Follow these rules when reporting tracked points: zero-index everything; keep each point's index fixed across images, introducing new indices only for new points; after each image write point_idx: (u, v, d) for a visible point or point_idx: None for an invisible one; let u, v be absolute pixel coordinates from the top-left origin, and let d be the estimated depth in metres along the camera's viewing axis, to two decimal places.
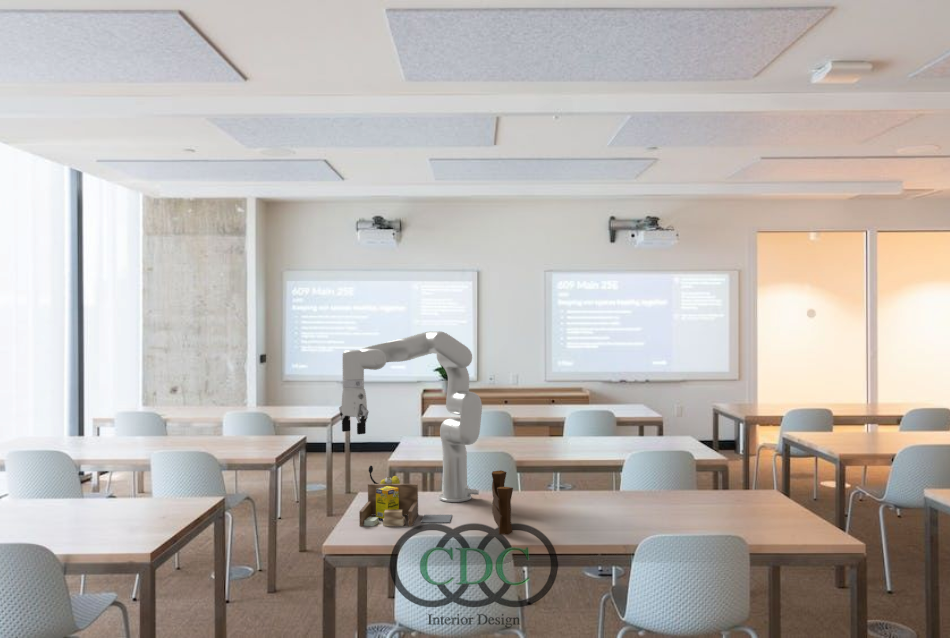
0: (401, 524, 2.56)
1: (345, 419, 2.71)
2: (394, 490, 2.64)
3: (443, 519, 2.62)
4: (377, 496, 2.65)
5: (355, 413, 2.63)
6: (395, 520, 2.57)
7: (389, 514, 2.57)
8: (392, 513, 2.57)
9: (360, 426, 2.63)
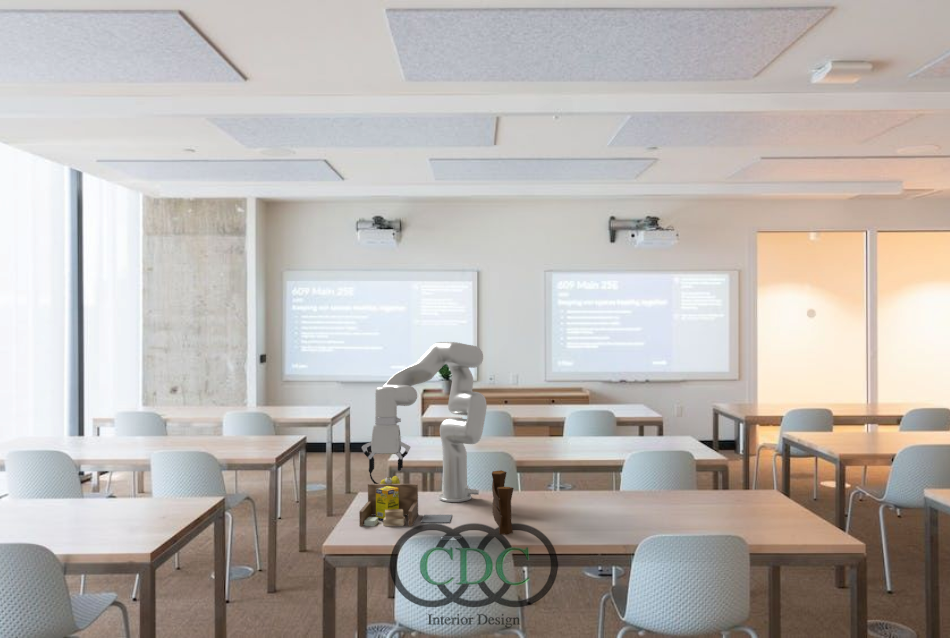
0: (401, 524, 2.56)
1: (372, 457, 2.65)
2: (394, 490, 2.64)
3: (443, 519, 2.62)
4: (377, 496, 2.65)
5: (397, 450, 2.63)
6: (395, 520, 2.57)
7: (391, 513, 2.57)
8: (393, 513, 2.57)
9: (401, 462, 2.64)
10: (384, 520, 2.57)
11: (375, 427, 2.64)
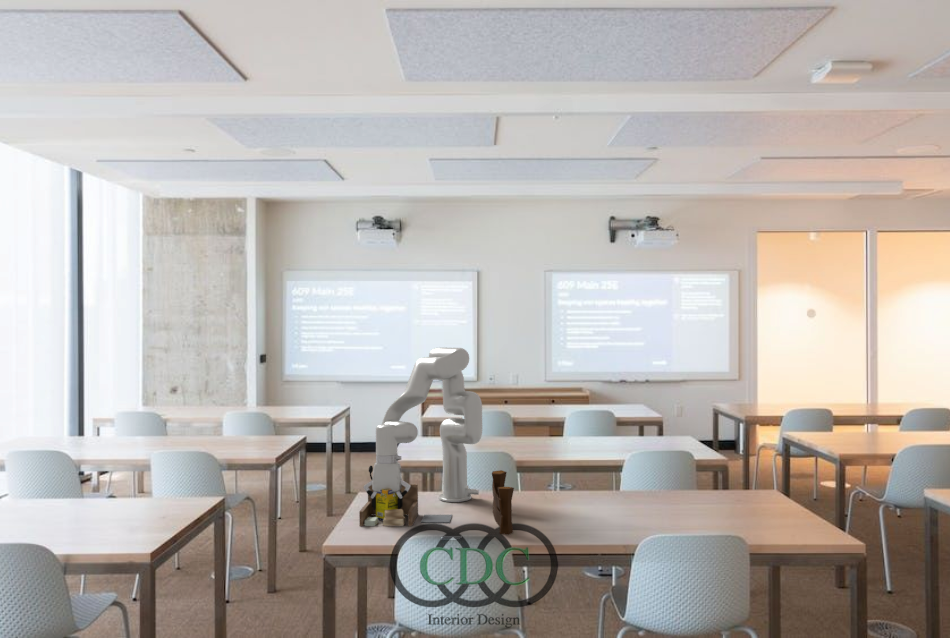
0: (401, 524, 2.57)
1: (375, 496, 2.66)
2: None
3: (443, 519, 2.62)
4: (377, 496, 2.65)
5: (398, 488, 2.63)
6: (395, 520, 2.57)
7: (391, 514, 2.57)
8: (394, 513, 2.57)
9: (401, 501, 2.65)
10: (384, 520, 2.57)
11: (376, 465, 2.64)
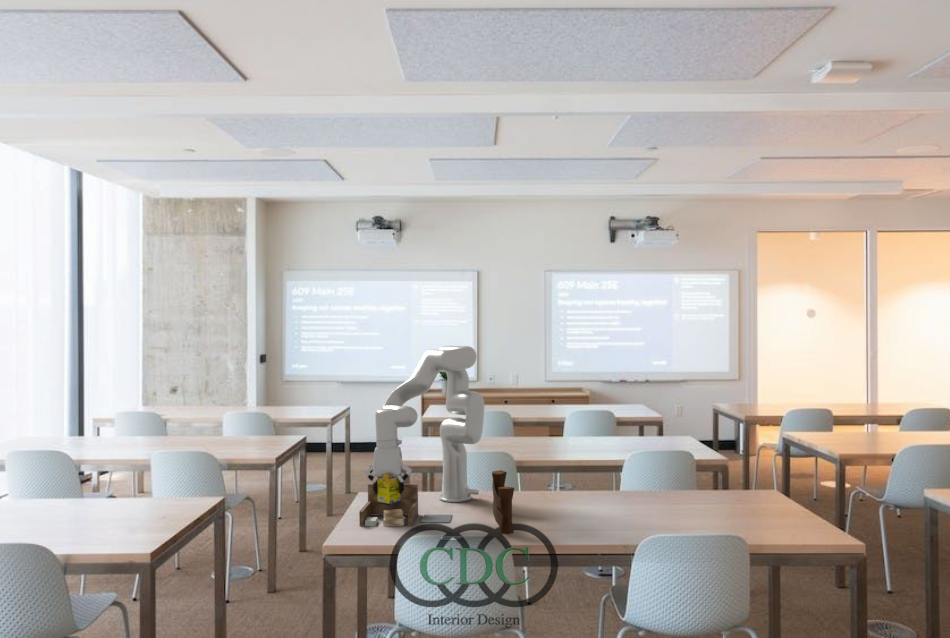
0: (401, 524, 2.57)
1: (376, 481, 2.66)
2: None
3: (443, 519, 2.62)
4: (378, 480, 2.65)
5: (399, 472, 2.64)
6: (395, 520, 2.57)
7: (391, 514, 2.57)
8: (393, 513, 2.57)
9: (402, 485, 2.65)
10: (384, 520, 2.57)
11: (376, 450, 2.64)
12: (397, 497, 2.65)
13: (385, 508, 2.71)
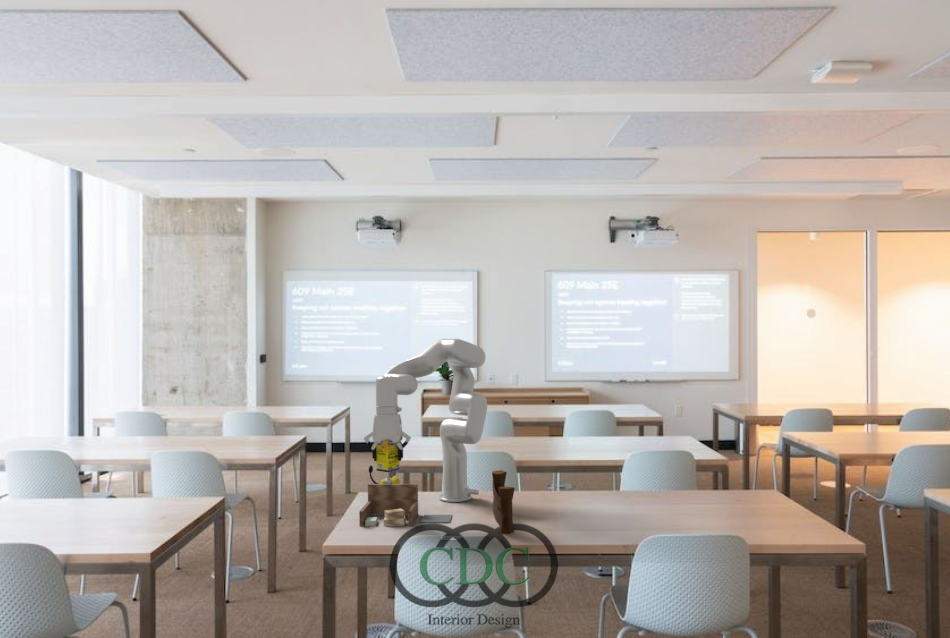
0: (402, 524, 2.57)
1: (375, 448, 2.66)
2: None
3: (443, 519, 2.62)
4: (377, 447, 2.65)
5: (398, 439, 2.64)
6: (396, 520, 2.57)
7: (393, 513, 2.57)
8: (395, 513, 2.57)
9: (401, 452, 2.65)
10: (384, 520, 2.57)
11: (376, 417, 2.64)
12: (395, 465, 2.65)
13: (385, 508, 2.71)
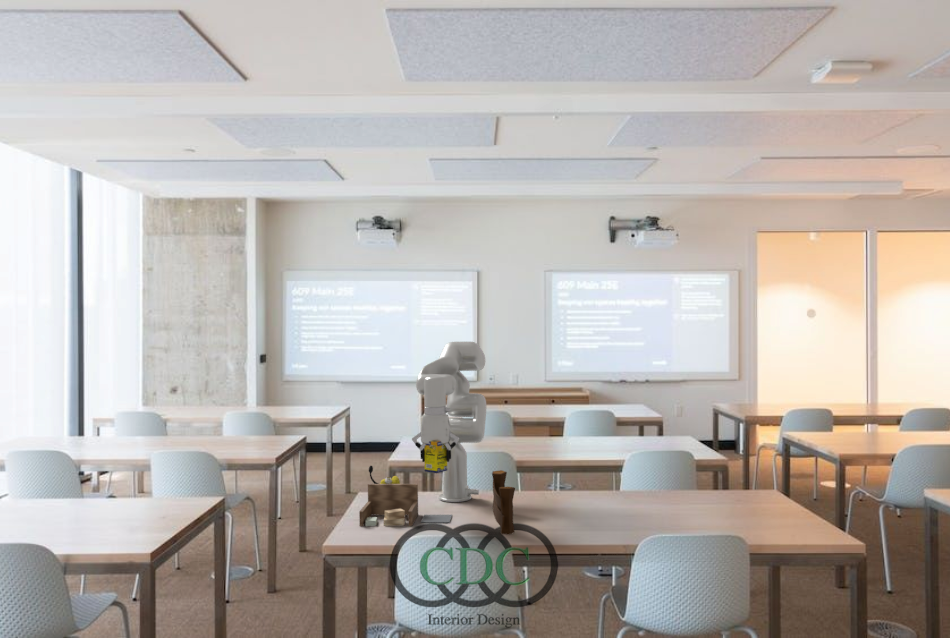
0: (402, 524, 2.57)
1: (423, 448, 2.64)
2: None
3: (443, 519, 2.62)
4: (426, 448, 2.63)
5: (447, 440, 2.62)
6: (396, 520, 2.57)
7: (393, 514, 2.57)
8: (396, 513, 2.57)
9: (449, 453, 2.63)
10: (384, 520, 2.57)
11: (425, 417, 2.63)
12: (444, 466, 2.63)
13: (385, 508, 2.71)
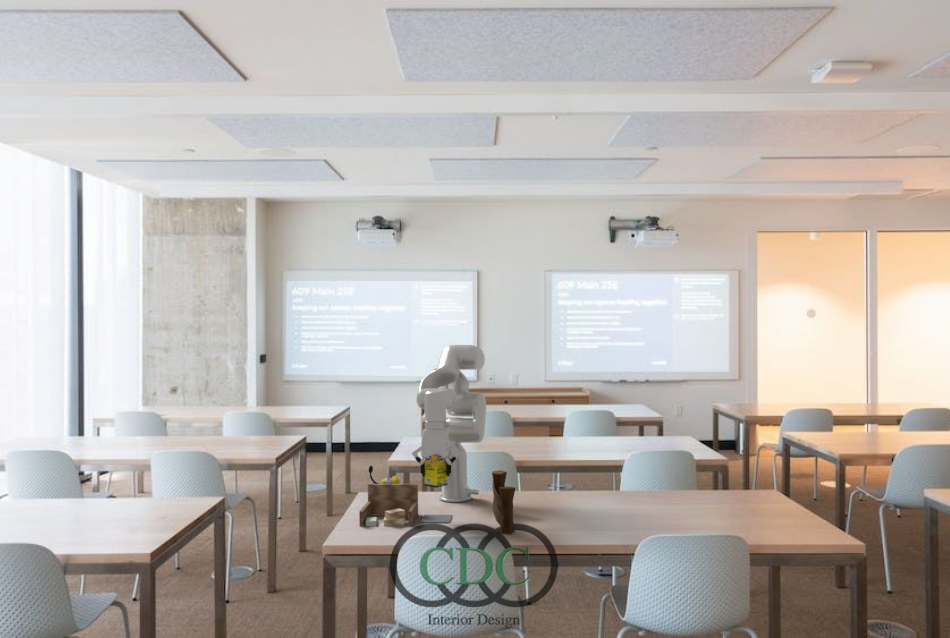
0: (402, 523, 2.57)
1: (424, 463, 2.64)
2: None
3: (443, 519, 2.62)
4: (426, 462, 2.63)
5: (447, 454, 2.62)
6: (396, 520, 2.57)
7: (394, 514, 2.57)
8: (397, 513, 2.57)
9: (449, 468, 2.63)
10: (385, 520, 2.57)
11: (425, 431, 2.62)
12: (444, 480, 2.63)
13: (385, 508, 2.71)
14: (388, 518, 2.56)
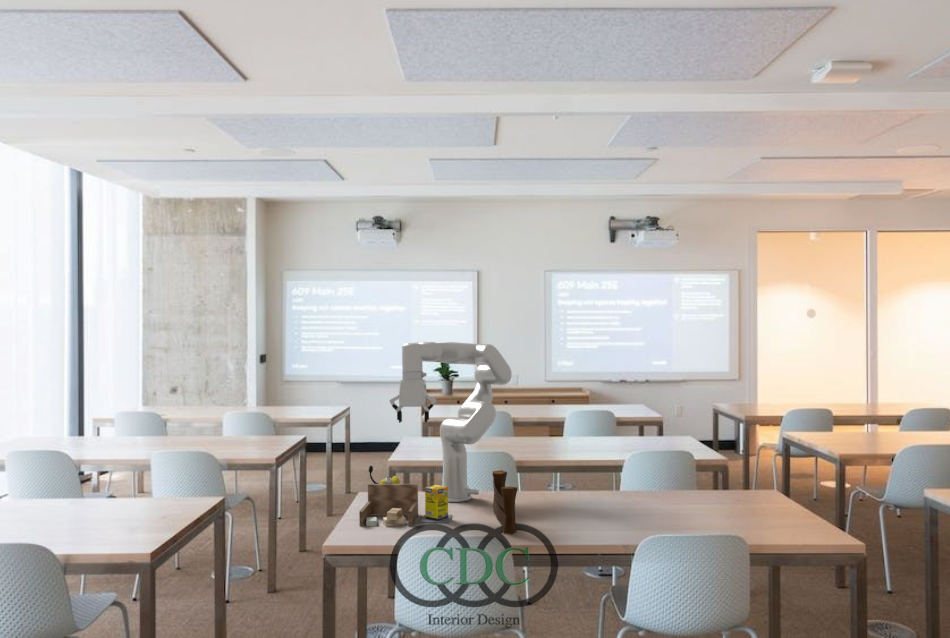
0: (403, 523, 2.58)
1: (400, 410, 2.80)
2: (444, 489, 2.63)
3: (443, 519, 2.62)
4: (426, 495, 2.63)
5: (423, 402, 2.78)
6: (397, 519, 2.57)
7: (398, 513, 2.58)
8: (399, 512, 2.59)
9: (427, 414, 2.79)
10: (386, 521, 2.56)
11: (402, 381, 2.78)
12: (444, 513, 2.63)
13: (385, 508, 2.71)
14: (394, 518, 2.56)
